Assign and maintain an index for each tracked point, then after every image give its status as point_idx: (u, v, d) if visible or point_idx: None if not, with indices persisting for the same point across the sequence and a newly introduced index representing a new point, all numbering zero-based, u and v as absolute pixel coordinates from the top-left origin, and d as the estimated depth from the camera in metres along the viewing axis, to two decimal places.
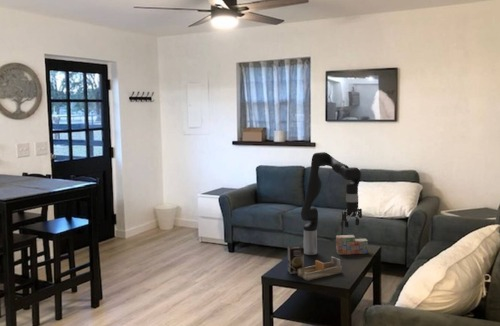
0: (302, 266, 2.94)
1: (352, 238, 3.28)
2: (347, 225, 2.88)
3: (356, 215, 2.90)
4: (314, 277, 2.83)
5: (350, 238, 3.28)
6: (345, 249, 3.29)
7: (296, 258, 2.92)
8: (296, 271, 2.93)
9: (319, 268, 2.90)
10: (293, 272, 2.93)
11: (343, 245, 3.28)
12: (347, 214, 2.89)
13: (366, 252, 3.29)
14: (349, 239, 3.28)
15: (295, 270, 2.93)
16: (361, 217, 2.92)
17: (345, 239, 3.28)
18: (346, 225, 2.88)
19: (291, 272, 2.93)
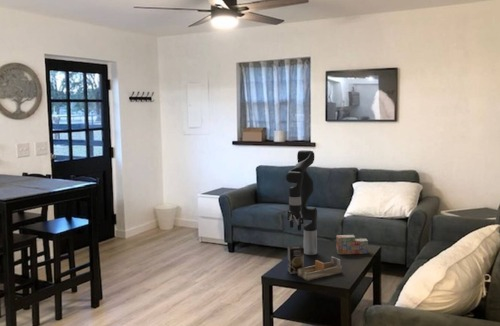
0: (302, 266, 2.94)
1: (352, 238, 3.28)
2: None
3: None
4: (314, 277, 2.83)
5: (350, 238, 3.28)
6: (345, 248, 3.29)
7: (296, 258, 2.92)
8: (296, 271, 2.93)
9: (319, 268, 2.90)
10: (293, 272, 2.93)
11: (343, 245, 3.29)
12: (297, 218, 2.89)
13: (366, 252, 3.29)
14: (349, 238, 3.28)
15: (295, 270, 2.93)
16: None
17: (345, 239, 3.28)
18: None
19: (291, 272, 2.93)
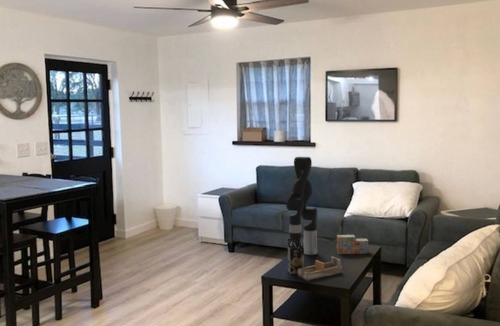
0: (302, 266, 2.94)
1: (352, 238, 3.29)
2: (300, 255, 2.92)
3: None
4: (314, 277, 2.83)
5: (350, 238, 3.29)
6: (346, 248, 3.29)
7: (296, 258, 2.92)
8: (296, 271, 2.93)
9: (319, 268, 2.90)
10: (293, 272, 2.93)
11: (343, 245, 3.29)
12: (297, 245, 2.92)
13: (366, 252, 3.29)
14: (349, 238, 3.29)
15: (295, 270, 2.93)
16: None
17: (345, 239, 3.29)
18: None
19: (291, 272, 2.93)
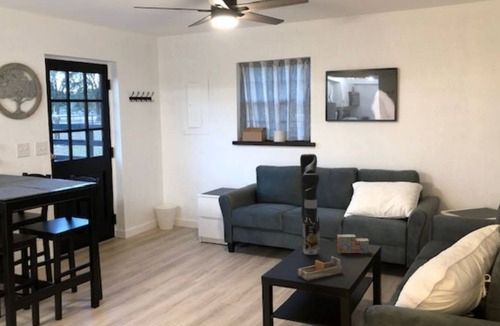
0: (318, 243, 2.84)
1: (353, 238, 3.29)
2: (316, 232, 2.82)
3: None
4: (314, 277, 2.83)
5: (351, 237, 3.29)
6: (346, 248, 3.30)
7: (312, 235, 2.82)
8: (311, 248, 2.83)
9: (319, 268, 2.90)
10: (308, 249, 2.83)
11: (344, 244, 3.30)
12: (313, 221, 2.81)
13: (367, 252, 3.29)
14: (350, 238, 3.29)
15: (310, 246, 2.83)
16: None
17: (345, 239, 3.30)
18: (316, 232, 2.81)
19: (306, 249, 2.83)
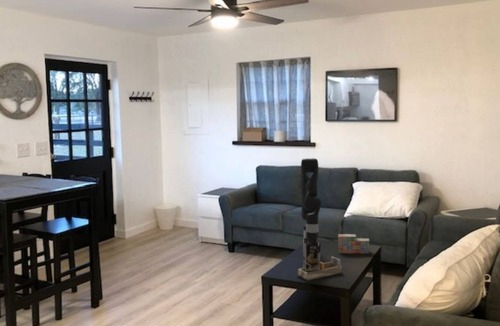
0: (318, 263, 2.85)
1: (353, 237, 3.30)
2: None
3: None
4: (314, 277, 2.83)
5: (351, 237, 3.30)
6: (346, 248, 3.31)
7: (312, 255, 2.84)
8: (312, 268, 2.85)
9: None
10: (309, 269, 2.84)
11: (344, 244, 3.31)
12: (314, 245, 2.84)
13: (367, 252, 3.29)
14: (350, 238, 3.30)
15: (311, 267, 2.84)
16: None
17: (345, 238, 3.30)
18: (317, 256, 2.83)
19: (307, 269, 2.84)
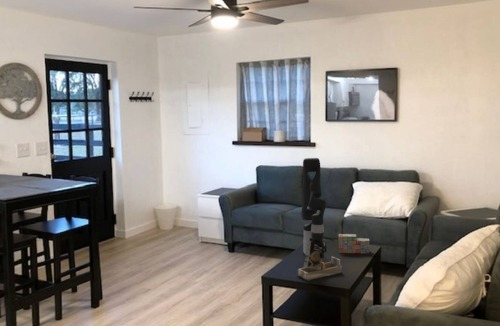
0: (320, 262, 2.86)
1: (353, 237, 3.30)
2: (323, 256, 2.86)
3: None
4: (314, 277, 2.83)
5: (351, 237, 3.30)
6: (346, 247, 3.31)
7: (315, 253, 2.85)
8: (313, 266, 2.85)
9: None
10: (310, 267, 2.84)
11: (344, 244, 3.31)
12: (319, 245, 2.85)
13: (368, 252, 3.29)
14: (350, 238, 3.30)
15: (312, 265, 2.84)
16: None
17: (346, 238, 3.31)
18: (323, 256, 2.85)
19: (308, 266, 2.84)
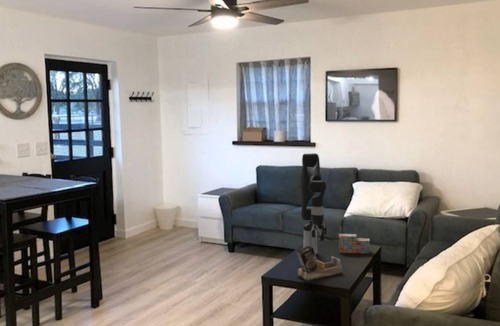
0: (317, 265, 2.85)
1: (353, 237, 3.30)
2: (323, 238, 2.84)
3: None
4: (314, 277, 2.83)
5: (351, 237, 3.30)
6: (346, 247, 3.32)
7: (309, 261, 2.82)
8: None
9: None
10: None
11: (344, 244, 3.32)
12: (319, 228, 2.84)
13: (368, 252, 3.29)
14: (350, 237, 3.30)
15: None
16: None
17: (346, 238, 3.31)
18: (323, 238, 2.84)
19: None
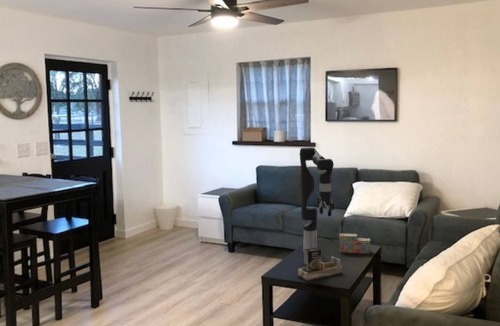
0: (319, 268, 2.86)
1: (354, 237, 3.30)
2: (331, 214, 2.98)
3: None
4: (314, 277, 2.83)
5: (352, 237, 3.31)
6: (347, 247, 3.32)
7: (314, 261, 2.84)
8: None
9: None
10: None
11: (345, 243, 3.32)
12: (327, 204, 2.97)
13: (368, 252, 3.29)
14: (351, 237, 3.31)
15: None
16: None
17: (346, 238, 3.32)
18: (331, 214, 2.97)
19: None
